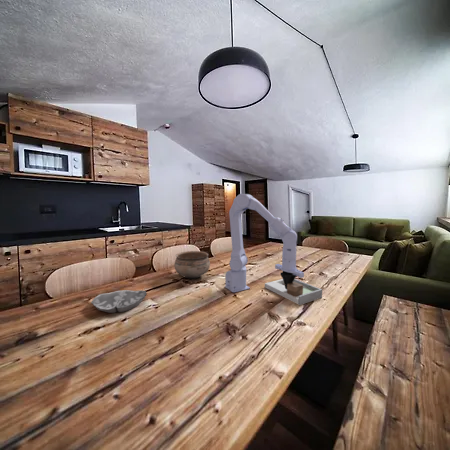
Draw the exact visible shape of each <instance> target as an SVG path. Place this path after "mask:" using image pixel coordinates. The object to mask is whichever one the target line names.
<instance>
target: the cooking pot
mask: <svg viewBox="0 0 450 450" xmlns="http://www.w3.org/2000/svg"><path fill="white" fill-rule="evenodd" d="M175 257H176V258H175V261H174V265H173V266H174V270H175V271H176V273H177V274H178V275H180V276H182V277H184V278H186V279H189V280H194V279H195V280H196V279H198V278H199V277H201V276H203V275H205V274H206V273H207V272H208V271H209V269H210V266H211V262H210V258H209V253H207V252H205V251H199V250H191V251H190V250H188V251H182V252H179V253H176V254H175Z"/></svg>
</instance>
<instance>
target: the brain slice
mask: <svg viewBox="0 0 450 450" xmlns="http://www.w3.org/2000/svg"><path fill="white" fill-rule="evenodd" d="M146 296H147V291H146V290H132V289H131V290H128V289H124V290H123V289H122V290H116V291H112V292H107V293H100V294H98V295H97V296H95V297H94V298H93V299H92V300H91V304H92V305H93V306H94V308H96V309H97V310H98V311H102V312H105V313H109V314H111V313H114V314H115V313H117V312H118V313H124V312H127V311H129V310H131V309H133V308H136V307H137V306H139V305H140V304H141V303H142V302H143V301H144V300H145V298H146Z"/></svg>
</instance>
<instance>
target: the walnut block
mask: <svg viewBox="0 0 450 450" xmlns="http://www.w3.org/2000/svg"><path fill="white" fill-rule="evenodd" d="M287 293H288V294H290V295H292V296H294V297H297V296H300V295H303V285H301V284H299V283H296V282H293V283H289V284H287Z"/></svg>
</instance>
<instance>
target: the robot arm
mask: <svg viewBox="0 0 450 450" xmlns="http://www.w3.org/2000/svg"><path fill="white" fill-rule="evenodd" d="M248 209H249V210H252V211H255V212H257V213H258V214H259V215H260V216H261V217H262V218H264V219H265V220H266V221H267V222H268V225H269V226H268V227H269V228H270V229H271V230H272V231H273V232H274V233H275V234H276V235H277V236H278V237H279V238H281V241H282V242H283V244H282V245H283V246H282V256H281V257H282V259H281V261H282V262H281V264H280V263H277V264H276V263H275V266H274V269H275V270H280V271H282V272H280V273H279V274H280V276H281V279H283V281H284V284H283V285H284V286H285V289H287V284H289V283H293V281H294V279H296V277H298V278H300V279H301V278H304V277H305V272H303V271H302V270H299V269H298V268H297V251H298V250H297V241H298V234H297V232H296V231H295V230H294V229H292V227H291V226H288V225H287V224H286V223H285V222H284V218H280V217H278V216H277V217H275V216H274V215H273V214H272V213H271V212H270V211H269V210H268V208H267V207H265V205H263V204H262V202H261V201H259V200H258V199H257V198H255V197H254V196H253V195H251V194H249V193H239V194H238V195H237V196H236V197H235V198H233V201H232V205H231V207H230V209H229V211H228V213H229V215H228V216H229V224H230V225H229V226H230V227H229V228H230V235H231V236H230V238H231V248H232V250H231V253H230V260H229V268H230V269H229V270H228V271H226V273H225V276H224V277H225V285H224V288H226V289H228V291H230V292H232V293H238V292H241V291H245V290H249V289H250V288H251V287H250V286H248V285H247V267H246V265H247V264H248V257H247V255H246V250H245V249H244V248H245V247H244V241H243V240H244V238H243V227H242V215H243V213H244V212H245V211H246V210H248Z"/></svg>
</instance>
